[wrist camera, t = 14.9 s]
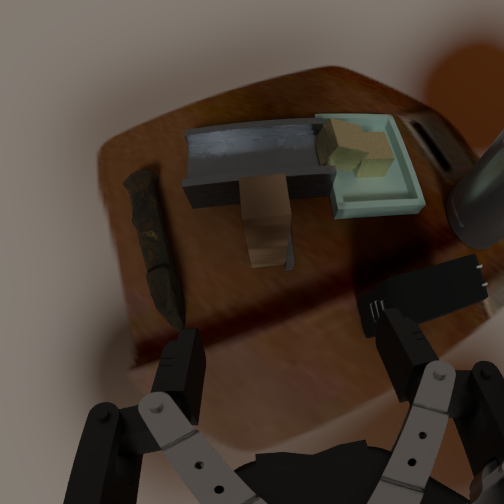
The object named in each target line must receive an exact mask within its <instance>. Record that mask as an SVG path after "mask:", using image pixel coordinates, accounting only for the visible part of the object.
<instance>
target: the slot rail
mask: <svg viewBox="0 0 504 504" xmlns="http://www.w3.org/2000/svg"><path fill="white" fill-rule="evenodd" d="M323 125H324V123H323V119H322V118H296V119H278V120H265V121H253V122H242V123H233V124H224V125H216V126H208V127H201V128H194V129H187V130H185V138H186V141H187V143H188V146H189V149H188V174H187V178H185V179H183V181H182V187H183V189H184V191H185V193H186V196H187V198H188V200H189V202H190V204H191V206H192V208H193V209H195V208H203V207H212V206H222V205H231V204H241V200H240V187H239V178H241V177H251V176H261V175H272V174H284V173H285V176H286V182H287V188H288V195H289V199H299V198H312V197H327V196H330V193H331V190H332V187H333V184H334V181H335V178H336V174H337V171H336V167H335V165H328V166H321V165H320V161H319V157H318V152H317V148H316V144H315V140H314V139H315V138H316V136H317V135H318V134H319V132H320V131H321V129H322V128H323Z"/></svg>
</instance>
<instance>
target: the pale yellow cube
mask: <svg viewBox="0 0 504 504" xmlns="http://www.w3.org/2000/svg"><path fill="white" fill-rule="evenodd" d="M314 140H315V144H316V148H317V152H318V157H319V161H320V165H321V166H328V165H335V167H336V170H341V171H347V172H351V171H352V170H353V169H354V168H355V167H356V166H357V165H358V164H359V163H360V162H361V161H362V160H363V159H364V158H365V157H366V156H367V155H368V154H369V150H368V147H367V144H366V142H365V139H364V136H363V133H362V130H361V128H360V125H356V124H353V123H349V122H345V121H341V120H337V119H333V118H329V120H328V121H327V123H326V124H325V125H324V127H323V128H322V129H321V131H320V132H319V134H318V135H317V136H316V138H315V139H314Z"/></svg>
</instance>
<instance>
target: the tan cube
mask: <svg viewBox="0 0 504 504" xmlns="http://www.w3.org/2000/svg"><path fill="white" fill-rule="evenodd" d="M362 133H363V136H364V139H365V142H366V144H367V147H368V150H369V154H368V155H367V156H366V157H365V158H364V159H363V160H362V161H361V162H360V163H359V164H358V165H357V166H356V167H355V168H354V169H353V172H354V175H355V178H369V177H385V176H386V174H387V172H388V170H389V168H390V166H391V165H392V163H393V161H394V159H395V158H394V155H393V152H392V150H391V147H390V145H389V142H388V139H387V137H386V134H385V132H362Z"/></svg>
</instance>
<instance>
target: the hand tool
mask: <svg viewBox="0 0 504 504" xmlns="http://www.w3.org/2000/svg"><path fill="white" fill-rule="evenodd" d="M157 183H158V179H157V177H156V175H155V174H154V172H151V170H143V171H139V172H136V173H132V174H131V175H130V176H129V177H128V178H127V179H126V180H125V181H124V182H123V184H124V187H125V188H126V189H127V190H128V192H129V194H130V199H131V204H132V208H133V213H132V215H133V218H132V223H133V225H134V226H135V228H136V229H137V233H138V237H139V242H140V246H141V249H142V254H143V257H144V261H145V265H146V269H147V274H146V279H147V282H148V286H149V288H150V292H151V296H152V298H153V301H154V304H155V306H156V308H157V310H158V311H159V313H160V314H162V315H163V317H164V319H165V320H166V321H167V322H168V323H169V324H170V325H171V326H172V327H173V328H174V329H176V330H177V331H179V332H180V330H181V329H184V310H183V307H184V305H183V300H182V292H181V285H180V282H179V281H178V279H177V275H176V273H175V269H174V264H173V260H172V255H171V252H170V248H169V242H168V238H167V235H166V232H165V227H164V221H163V216H162V211H161V208H160V204H159V201H158V197H157V193H156V185H157Z"/></svg>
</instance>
